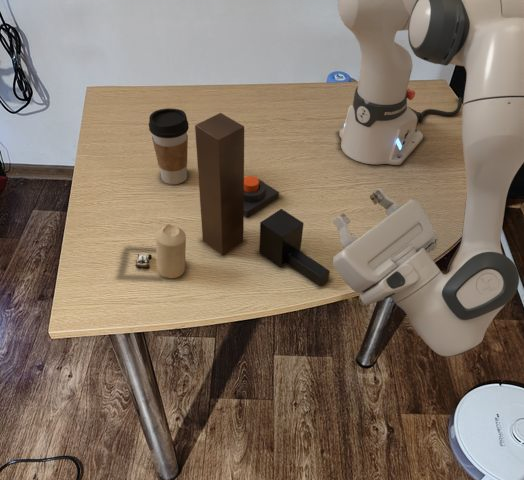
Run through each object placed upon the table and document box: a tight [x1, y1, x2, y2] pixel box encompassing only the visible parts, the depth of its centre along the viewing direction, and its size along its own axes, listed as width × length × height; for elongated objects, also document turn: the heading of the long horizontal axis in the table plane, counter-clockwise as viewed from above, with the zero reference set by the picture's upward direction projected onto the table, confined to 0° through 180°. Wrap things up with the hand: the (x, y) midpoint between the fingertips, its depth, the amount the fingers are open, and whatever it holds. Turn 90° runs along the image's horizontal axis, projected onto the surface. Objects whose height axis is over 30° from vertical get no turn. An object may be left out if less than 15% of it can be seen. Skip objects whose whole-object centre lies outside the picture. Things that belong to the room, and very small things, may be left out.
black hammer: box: [258, 208, 331, 287], centre depth 108 cm, size 6×15×8 cm, turn 46°
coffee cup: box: [148, 108, 190, 185], centre depth 122 cm, size 8×8×15 cm
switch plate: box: [244, 178, 280, 218], centre depth 122 cm, size 10×8×4 cm
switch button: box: [244, 175, 259, 192], centre depth 120 cm, size 4×4×2 cm
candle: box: [155, 223, 187, 279], centre depth 105 cm, size 6×6×10 cm
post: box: [194, 112, 245, 256], centre depth 105 cm, size 6×6×26 cm
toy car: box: [134, 252, 153, 269], centre depth 109 cm, size 3×4×2 cm, turn 178°
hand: (356, 204), depth 90 cm, fingers open, 8 cm apart
